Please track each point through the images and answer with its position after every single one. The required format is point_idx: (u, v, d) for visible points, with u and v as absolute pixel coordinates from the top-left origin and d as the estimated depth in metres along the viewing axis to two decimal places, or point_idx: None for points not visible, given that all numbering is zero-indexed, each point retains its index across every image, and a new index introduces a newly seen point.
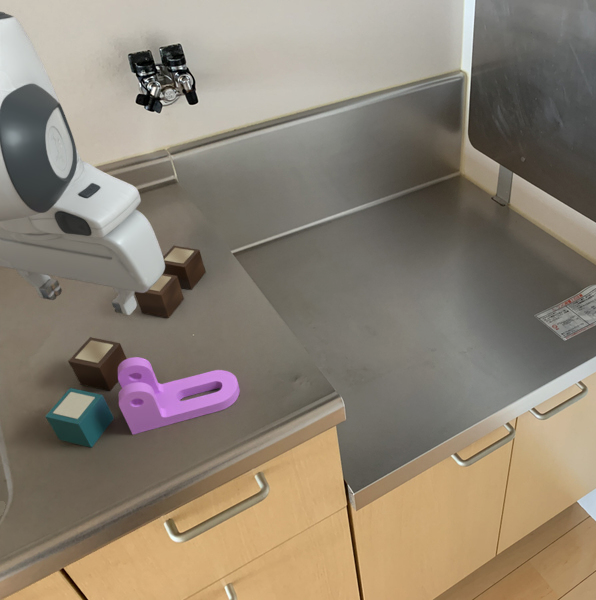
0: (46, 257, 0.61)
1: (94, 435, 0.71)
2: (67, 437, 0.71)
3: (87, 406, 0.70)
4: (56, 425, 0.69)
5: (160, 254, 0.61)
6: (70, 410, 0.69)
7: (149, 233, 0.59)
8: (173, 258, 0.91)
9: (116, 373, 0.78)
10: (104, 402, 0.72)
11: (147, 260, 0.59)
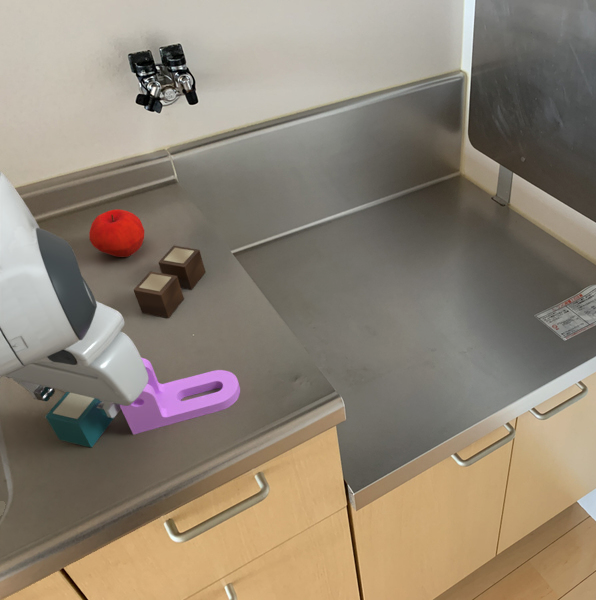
0: (36, 371, 0.65)
1: (94, 435, 0.71)
2: (67, 437, 0.71)
3: (87, 406, 0.70)
4: (56, 425, 0.69)
5: (143, 369, 0.65)
6: (70, 410, 0.69)
7: (132, 352, 0.63)
8: (173, 258, 0.91)
9: None
10: None
11: (130, 378, 0.63)
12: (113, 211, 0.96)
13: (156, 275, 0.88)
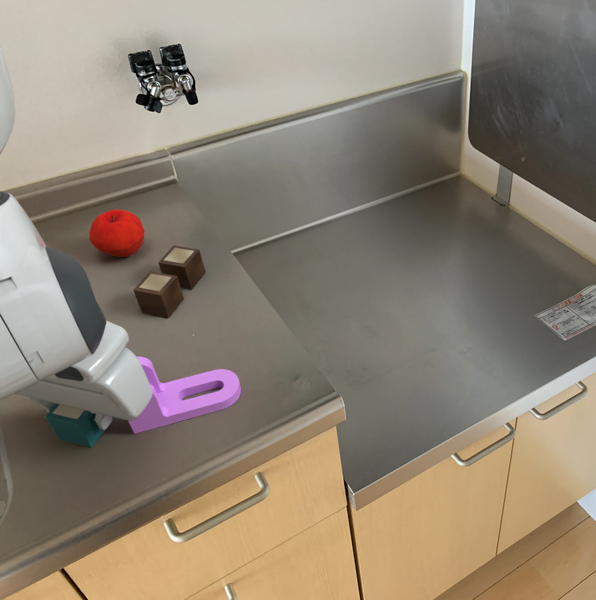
0: (42, 388, 0.66)
1: (94, 435, 0.71)
2: (67, 437, 0.71)
3: None
4: (56, 425, 0.69)
5: (147, 384, 0.66)
6: (70, 410, 0.69)
7: (136, 368, 0.64)
8: (173, 258, 0.91)
9: None
10: None
11: (135, 393, 0.64)
12: (113, 211, 0.96)
13: (156, 275, 0.88)
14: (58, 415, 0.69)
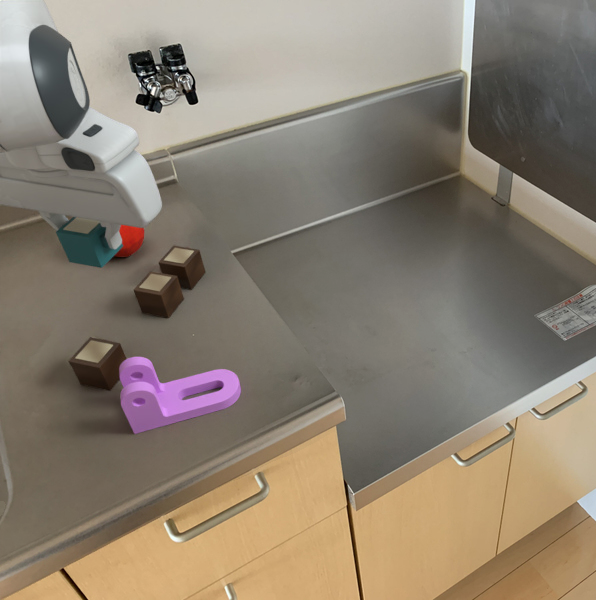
0: (53, 195, 0.66)
1: (104, 255, 0.72)
2: (77, 257, 0.71)
3: (97, 224, 0.70)
4: (67, 242, 0.70)
5: (157, 193, 0.67)
6: (80, 227, 0.70)
7: (147, 172, 0.65)
8: (173, 258, 0.91)
9: (116, 373, 0.78)
10: None
11: (145, 197, 0.65)
12: None
13: (156, 275, 0.88)
14: (69, 231, 0.69)
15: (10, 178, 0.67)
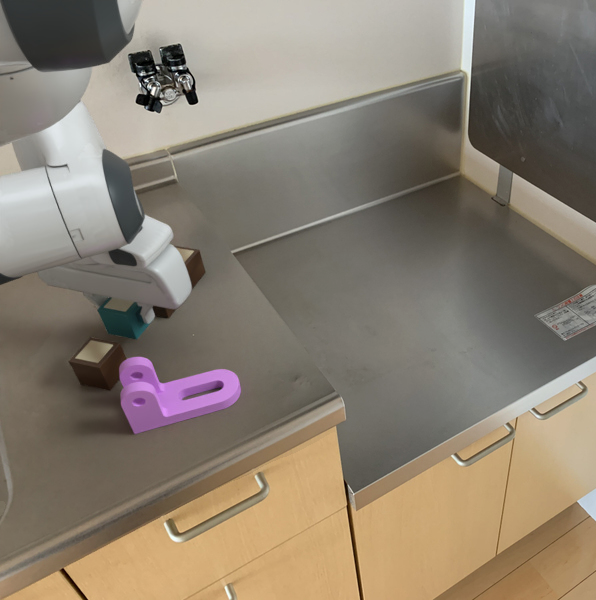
0: (96, 281, 0.76)
1: (139, 328, 0.81)
2: (115, 331, 0.81)
3: (133, 302, 0.80)
4: (107, 318, 0.79)
5: (188, 278, 0.76)
6: (119, 305, 0.79)
7: (180, 262, 0.74)
8: None
9: (116, 373, 0.78)
10: None
11: (178, 284, 0.74)
12: None
13: None
14: (109, 308, 0.79)
15: (59, 265, 0.76)
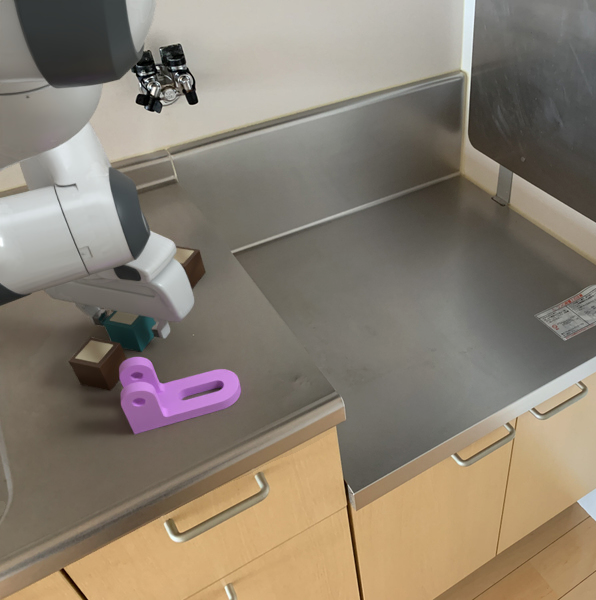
0: (101, 294, 0.77)
1: (144, 341, 0.83)
2: (121, 343, 0.82)
3: (138, 315, 0.81)
4: (112, 331, 0.81)
5: (191, 292, 0.77)
6: (124, 318, 0.81)
7: (182, 276, 0.76)
8: None
9: (116, 373, 0.78)
10: None
11: (181, 297, 0.76)
12: None
13: None
14: (114, 321, 0.80)
15: None
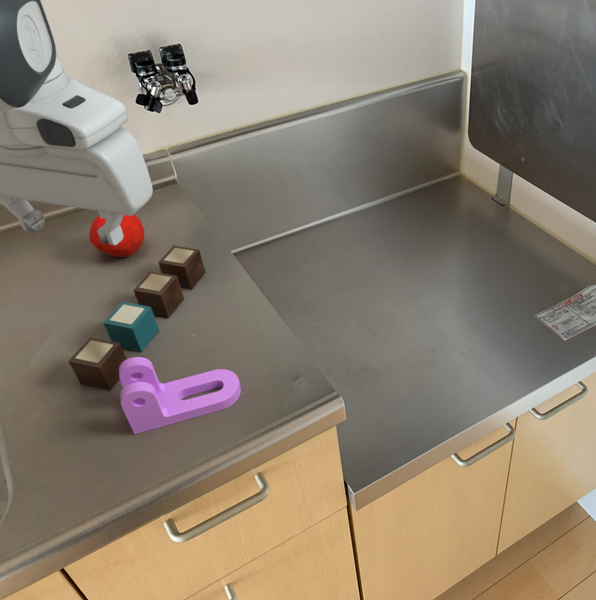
0: (28, 179, 0.58)
1: (144, 341, 0.83)
2: (121, 343, 0.82)
3: (138, 315, 0.81)
4: (112, 331, 0.81)
5: (148, 176, 0.59)
6: (124, 318, 0.81)
7: (136, 152, 0.57)
8: (173, 258, 0.91)
9: (116, 373, 0.78)
10: (152, 314, 0.83)
11: (134, 180, 0.57)
12: None
13: (156, 275, 0.88)
14: (114, 321, 0.80)
15: None
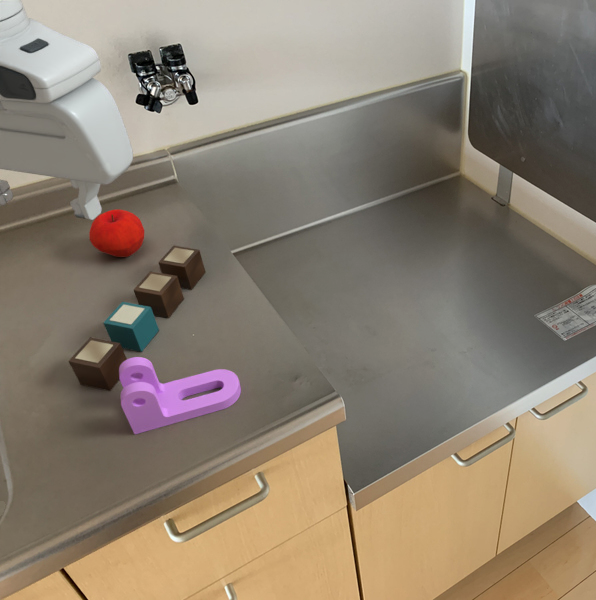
0: None
1: (144, 341, 0.83)
2: (121, 343, 0.82)
3: (138, 315, 0.81)
4: (112, 331, 0.81)
5: (126, 138, 0.50)
6: (124, 318, 0.81)
7: (111, 108, 0.48)
8: (173, 258, 0.91)
9: (116, 373, 0.78)
10: (152, 314, 0.83)
11: (109, 141, 0.48)
12: (113, 211, 0.96)
13: (156, 275, 0.88)
14: (114, 321, 0.80)
15: None
